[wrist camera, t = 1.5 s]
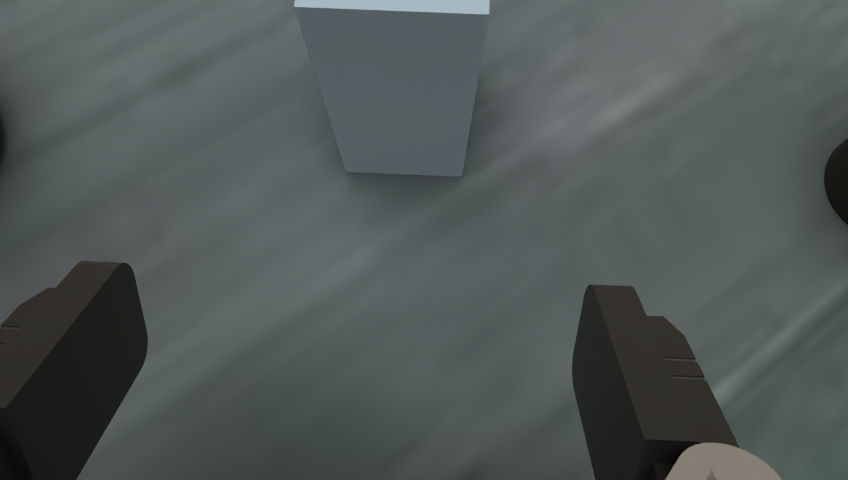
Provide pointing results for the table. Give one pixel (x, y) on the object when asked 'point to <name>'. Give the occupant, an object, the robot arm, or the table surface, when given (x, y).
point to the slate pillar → (397, 79)
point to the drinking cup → (838, 180)
